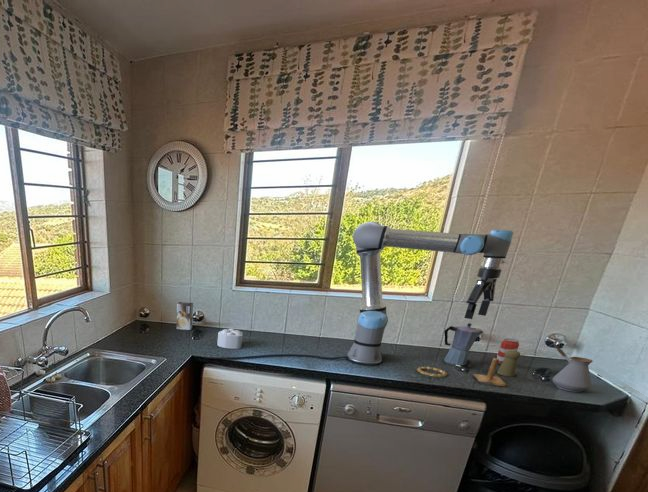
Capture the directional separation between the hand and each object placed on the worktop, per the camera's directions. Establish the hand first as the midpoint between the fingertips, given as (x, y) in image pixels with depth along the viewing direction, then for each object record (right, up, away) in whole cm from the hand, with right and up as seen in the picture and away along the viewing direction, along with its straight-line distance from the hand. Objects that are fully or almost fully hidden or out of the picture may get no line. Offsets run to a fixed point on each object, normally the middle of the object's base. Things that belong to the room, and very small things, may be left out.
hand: (475, 316), depth 180 cm
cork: (+15, -26, +2) cm, 30 cm away
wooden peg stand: (+1, -29, -6) cm, 29 cm away
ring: (-19, -25, +1) cm, 31 cm away
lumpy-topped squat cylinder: (-102, -10, +39) cm, 110 cm away
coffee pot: (+29, -30, -9) cm, 43 cm away
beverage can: (+26, -21, +15) cm, 36 cm away
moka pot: (+2, -21, +15) cm, 25 cm away
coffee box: (-124, +3, +72) cm, 144 cm away
